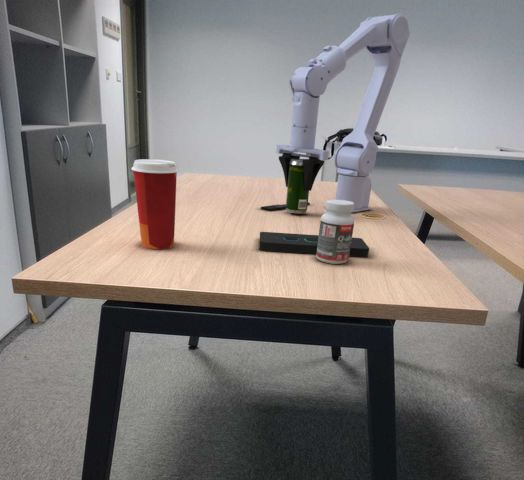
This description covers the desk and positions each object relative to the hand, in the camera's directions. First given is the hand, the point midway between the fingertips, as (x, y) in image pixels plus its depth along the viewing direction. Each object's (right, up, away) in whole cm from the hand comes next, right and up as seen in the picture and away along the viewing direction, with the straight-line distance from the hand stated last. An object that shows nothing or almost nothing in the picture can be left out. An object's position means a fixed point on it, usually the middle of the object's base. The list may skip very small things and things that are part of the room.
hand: (298, 188), depth 115 cm
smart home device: (+1, -20, -25) cm, 32 cm away
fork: (-3, -2, +10) cm, 10 cm away
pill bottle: (+4, -24, -32) cm, 40 cm away
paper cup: (-27, -21, -30) cm, 46 cm away
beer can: (0, -5, +3) cm, 6 cm away
